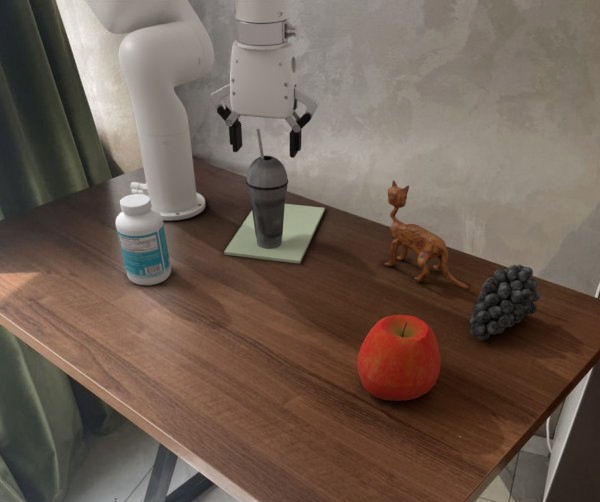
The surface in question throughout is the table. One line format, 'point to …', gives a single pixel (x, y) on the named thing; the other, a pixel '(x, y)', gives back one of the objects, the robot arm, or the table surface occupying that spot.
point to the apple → (399, 359)
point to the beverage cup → (267, 198)
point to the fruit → (504, 301)
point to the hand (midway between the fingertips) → (265, 152)
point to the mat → (294, 239)
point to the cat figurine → (416, 239)
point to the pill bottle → (142, 241)
